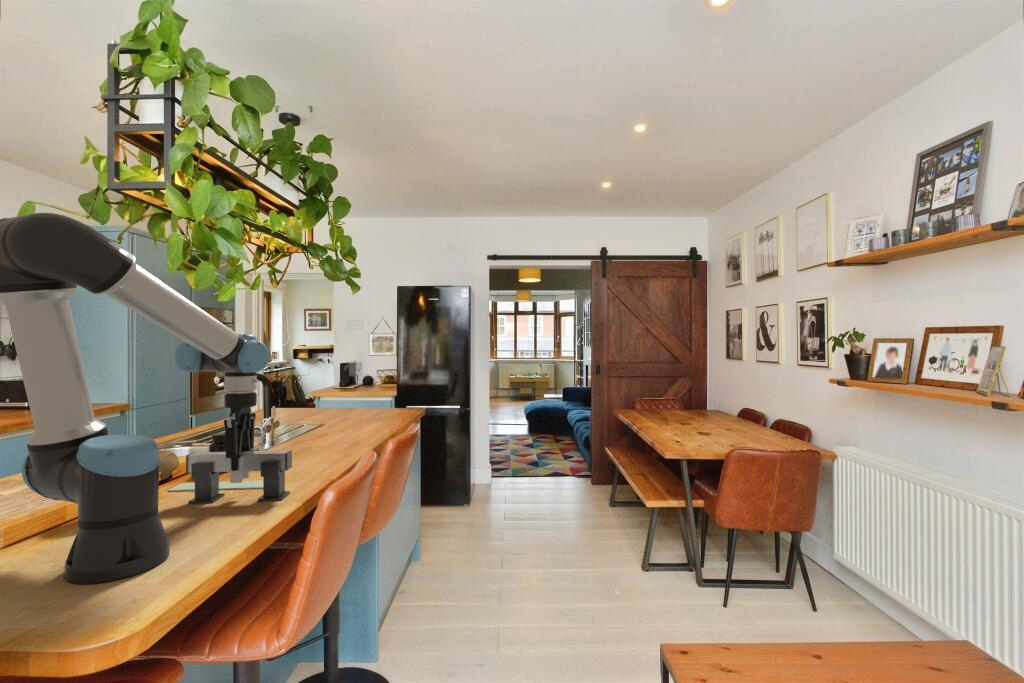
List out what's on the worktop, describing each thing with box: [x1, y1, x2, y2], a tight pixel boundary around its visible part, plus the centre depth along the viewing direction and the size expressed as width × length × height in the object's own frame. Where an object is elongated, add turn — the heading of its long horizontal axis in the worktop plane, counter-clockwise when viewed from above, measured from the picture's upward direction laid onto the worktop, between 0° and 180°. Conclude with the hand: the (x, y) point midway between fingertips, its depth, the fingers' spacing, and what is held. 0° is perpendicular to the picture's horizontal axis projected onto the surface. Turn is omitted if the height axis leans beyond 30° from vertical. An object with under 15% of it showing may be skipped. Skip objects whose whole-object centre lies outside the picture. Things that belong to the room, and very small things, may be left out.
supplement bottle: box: [208, 432, 226, 474], centre depth 155 cm, size 7×7×12 cm
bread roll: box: [159, 451, 180, 481], centre depth 146 cm, size 10×15×8 cm, turn 19°
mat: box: [167, 479, 263, 493], centre depth 139 cm, size 7×28×1 cm, turn 96°
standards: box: [188, 461, 291, 504], centre depth 128 cm, size 6×23×10 cm, turn 96°
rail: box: [185, 450, 293, 474], centre depth 128 cm, size 4×25×4 cm, turn 96°
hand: (240, 480), depth 127 cm, fingers closed on rail, 3 cm apart
